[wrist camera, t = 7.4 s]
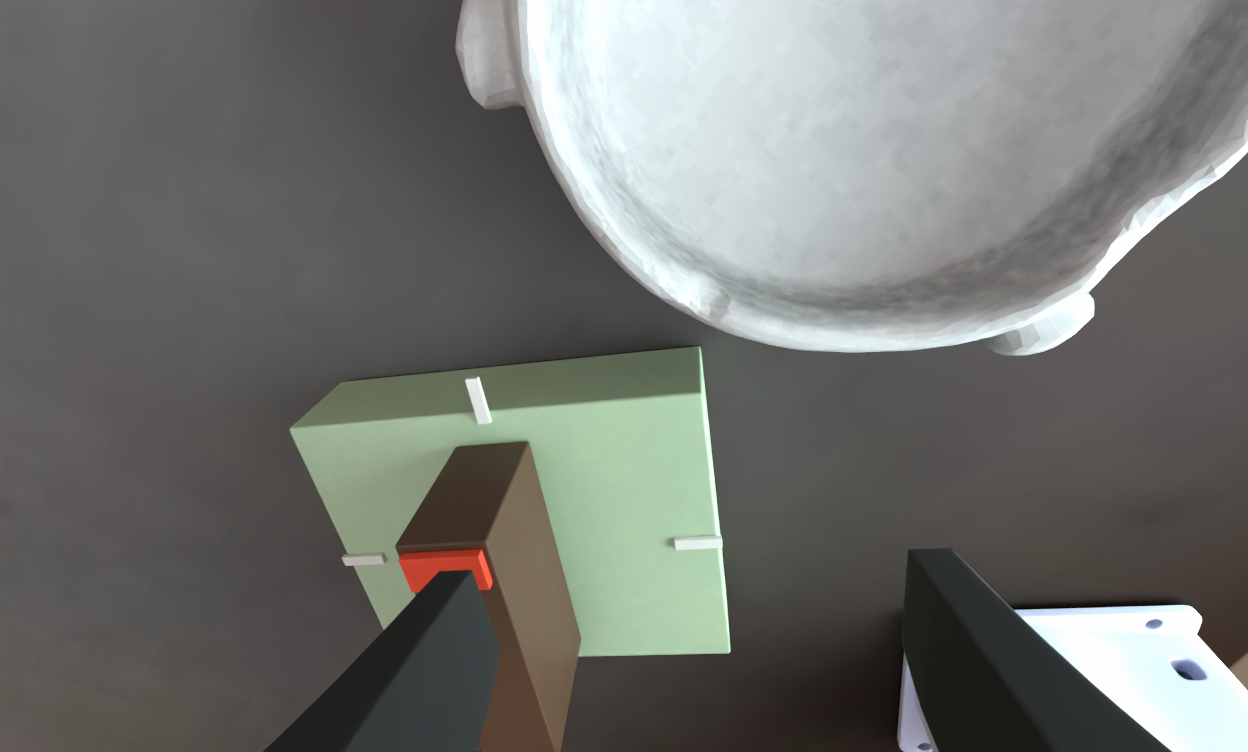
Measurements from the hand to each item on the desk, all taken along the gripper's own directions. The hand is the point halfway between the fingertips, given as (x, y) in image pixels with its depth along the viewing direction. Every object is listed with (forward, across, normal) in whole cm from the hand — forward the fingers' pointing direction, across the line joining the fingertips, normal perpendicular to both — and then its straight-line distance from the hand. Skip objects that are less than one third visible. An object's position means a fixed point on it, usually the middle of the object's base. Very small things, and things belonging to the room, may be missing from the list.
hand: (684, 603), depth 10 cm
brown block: (+6, +6, +5) cm, 10 cm away
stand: (+9, +6, +4) cm, 12 cm away
